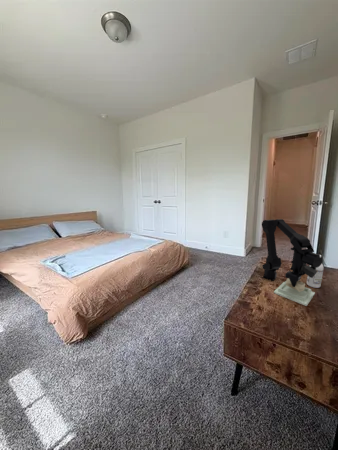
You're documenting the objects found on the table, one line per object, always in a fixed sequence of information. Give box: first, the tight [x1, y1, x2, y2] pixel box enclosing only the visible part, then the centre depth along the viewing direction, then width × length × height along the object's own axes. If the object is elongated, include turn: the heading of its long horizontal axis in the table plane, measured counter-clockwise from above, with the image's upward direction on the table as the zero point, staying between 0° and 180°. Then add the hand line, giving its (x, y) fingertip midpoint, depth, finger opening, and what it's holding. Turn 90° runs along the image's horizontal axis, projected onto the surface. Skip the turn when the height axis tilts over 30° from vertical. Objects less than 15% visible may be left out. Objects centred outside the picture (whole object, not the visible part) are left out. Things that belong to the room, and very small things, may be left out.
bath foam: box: [306, 254, 324, 289], centre depth 115 cm, size 7×7×20 cm
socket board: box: [273, 280, 316, 307], centre depth 109 cm, size 16×16×3 cm
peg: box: [285, 278, 306, 292], centre depth 108 cm, size 8×4×4 cm, turn 27°
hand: (295, 285), depth 108 cm, fingers closed on peg, 4 cm apart
